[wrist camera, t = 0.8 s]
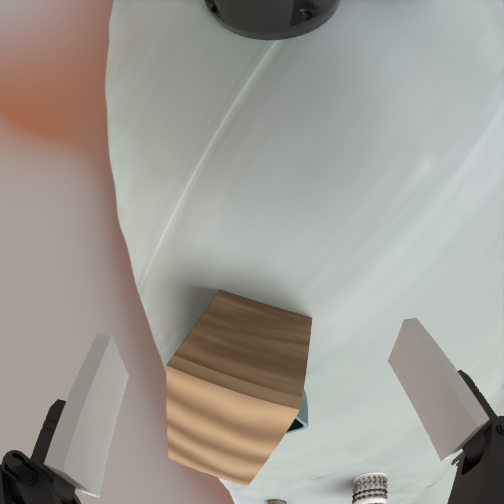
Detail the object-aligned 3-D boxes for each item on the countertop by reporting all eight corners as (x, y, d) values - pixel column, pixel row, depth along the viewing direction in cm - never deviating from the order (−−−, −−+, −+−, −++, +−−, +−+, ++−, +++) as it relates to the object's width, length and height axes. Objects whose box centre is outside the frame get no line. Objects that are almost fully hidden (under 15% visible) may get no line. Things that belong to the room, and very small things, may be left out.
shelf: (220, 290, 35) (166, 365, 22) (312, 318, 34) (300, 409, 21) (202, 394, 44) (168, 458, 31) (268, 416, 42) (247, 485, 29)
